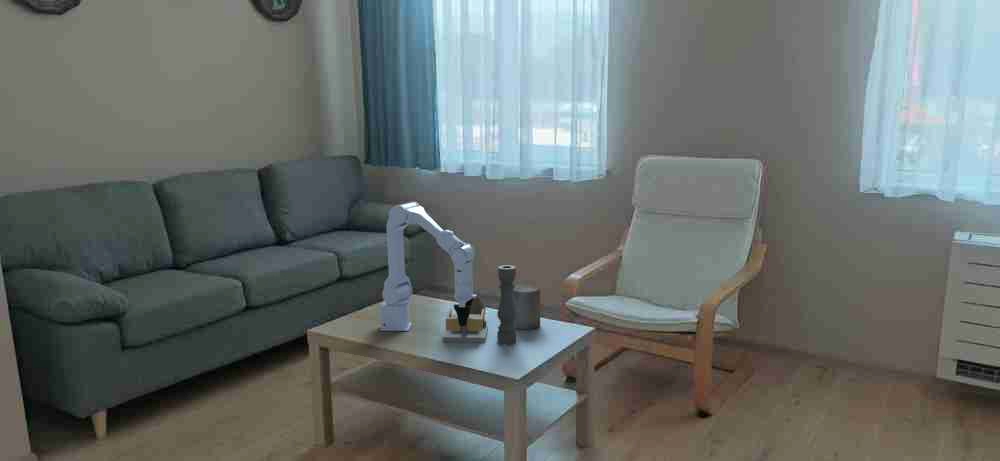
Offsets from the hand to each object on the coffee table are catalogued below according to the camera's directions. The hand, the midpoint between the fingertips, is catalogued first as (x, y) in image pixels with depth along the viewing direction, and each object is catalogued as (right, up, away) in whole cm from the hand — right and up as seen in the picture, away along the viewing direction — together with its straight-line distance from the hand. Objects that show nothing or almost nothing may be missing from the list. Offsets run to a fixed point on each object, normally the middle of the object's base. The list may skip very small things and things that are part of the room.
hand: (464, 322), depth 248 cm
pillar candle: (+21, -3, +16) cm, 26 cm away
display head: (0, -5, +6) cm, 8 cm away
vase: (+3, -2, +23) cm, 23 cm away
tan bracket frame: (0, -2, +5) cm, 5 cm away
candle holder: (+14, -6, -1) cm, 15 cm away
